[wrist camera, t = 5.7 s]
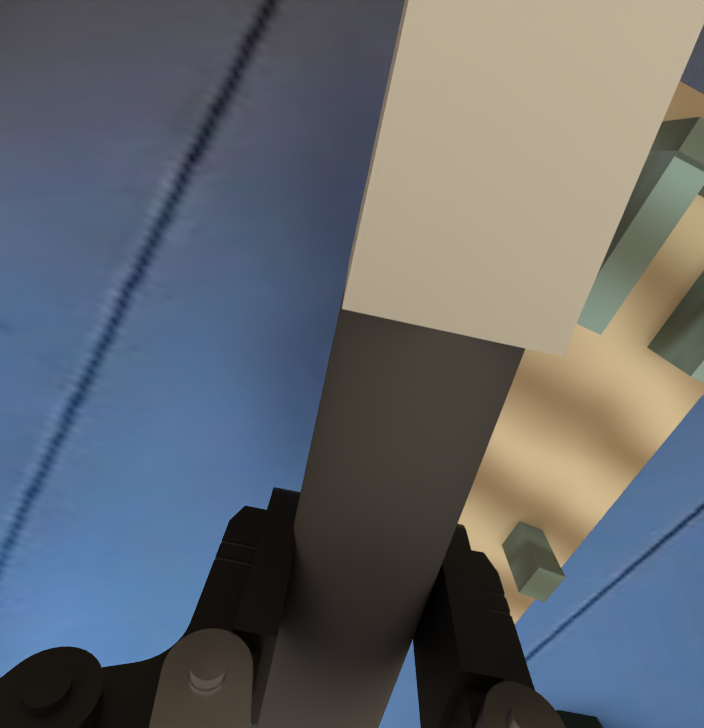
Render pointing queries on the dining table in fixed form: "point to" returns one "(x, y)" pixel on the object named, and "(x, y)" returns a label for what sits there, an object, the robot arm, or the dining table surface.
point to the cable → (456, 304)
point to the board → (602, 378)
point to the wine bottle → (578, 720)
